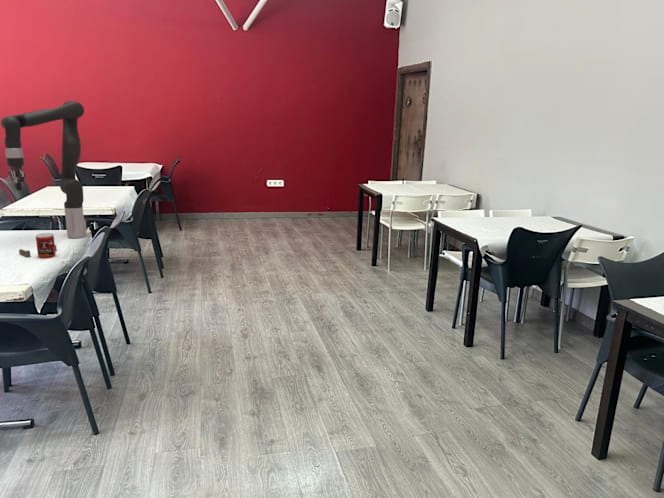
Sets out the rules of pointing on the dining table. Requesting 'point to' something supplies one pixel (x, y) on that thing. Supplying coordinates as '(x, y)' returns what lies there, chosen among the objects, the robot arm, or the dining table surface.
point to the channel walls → (22, 252)
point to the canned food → (45, 245)
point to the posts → (27, 253)
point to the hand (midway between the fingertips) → (18, 190)
